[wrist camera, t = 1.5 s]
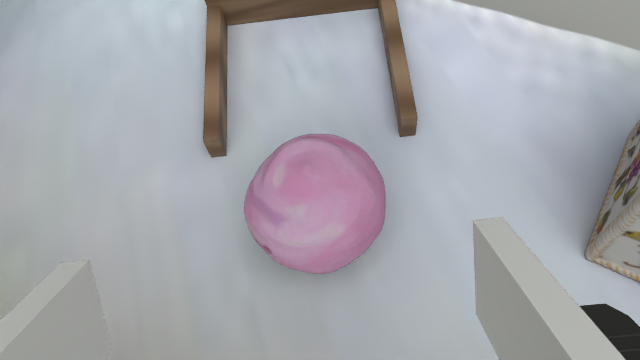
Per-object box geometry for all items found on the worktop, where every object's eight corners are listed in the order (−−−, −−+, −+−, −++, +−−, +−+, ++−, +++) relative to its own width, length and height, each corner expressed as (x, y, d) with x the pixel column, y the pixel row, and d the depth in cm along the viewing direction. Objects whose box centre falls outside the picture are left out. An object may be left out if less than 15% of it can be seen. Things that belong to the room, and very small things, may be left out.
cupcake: (311, 166, 43) (295, 88, 34) (407, 222, 40) (417, 153, 31) (240, 256, 40) (203, 197, 31) (339, 323, 37) (328, 279, 28)
